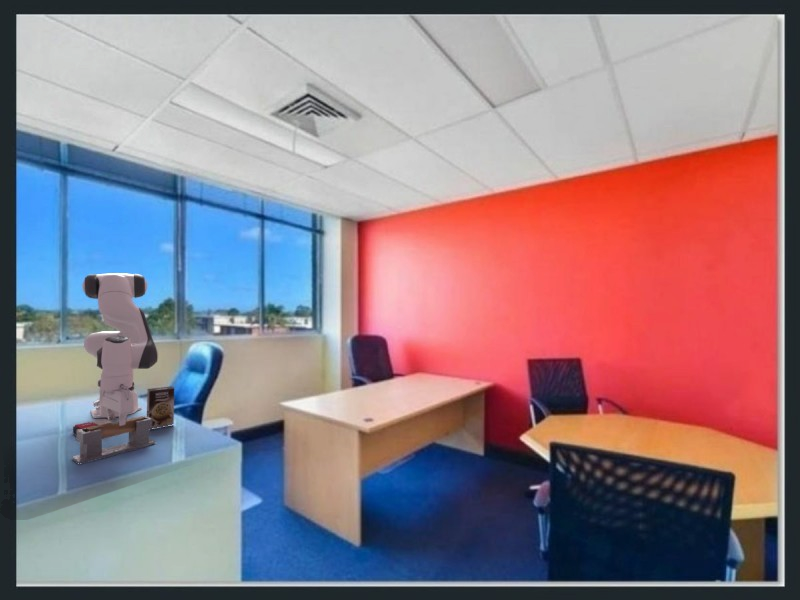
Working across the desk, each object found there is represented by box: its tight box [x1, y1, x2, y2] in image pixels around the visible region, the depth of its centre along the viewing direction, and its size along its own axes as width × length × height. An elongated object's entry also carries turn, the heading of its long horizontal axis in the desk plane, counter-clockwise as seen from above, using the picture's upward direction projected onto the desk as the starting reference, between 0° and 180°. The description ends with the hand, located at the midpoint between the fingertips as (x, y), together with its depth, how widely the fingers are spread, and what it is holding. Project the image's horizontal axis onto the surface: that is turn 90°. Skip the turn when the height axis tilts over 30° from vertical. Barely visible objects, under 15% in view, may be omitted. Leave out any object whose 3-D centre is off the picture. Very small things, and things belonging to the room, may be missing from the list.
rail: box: [86, 415, 144, 439], centre depth 131 cm, size 3×16×4 cm, turn 145°
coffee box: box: [146, 386, 175, 429], centre depth 158 cm, size 9×6×16 cm
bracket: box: [71, 415, 156, 465], centre depth 131 cm, size 7×22×10 cm, turn 145°
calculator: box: [72, 418, 113, 436], centre depth 150 cm, size 11×4×15 cm
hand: (116, 422), depth 131 cm, fingers open, 8 cm apart
